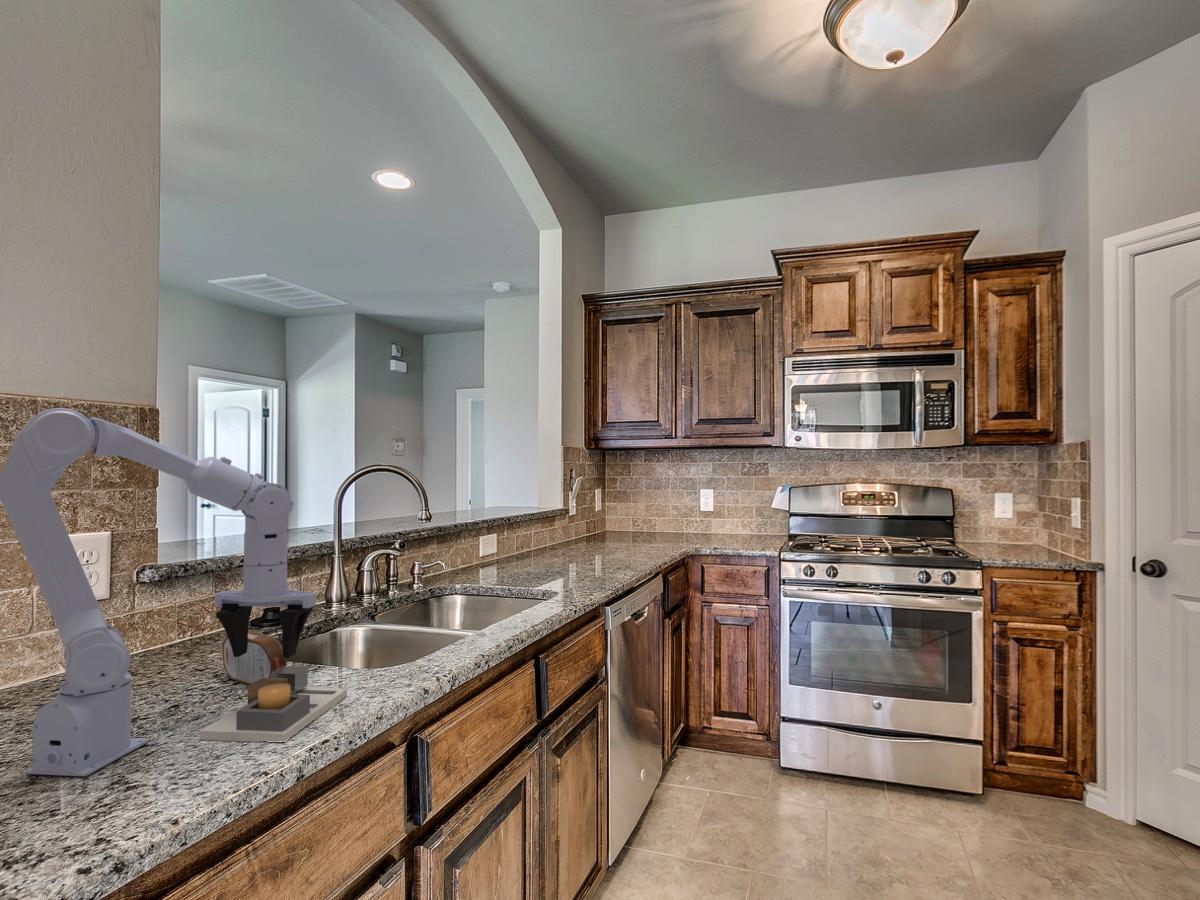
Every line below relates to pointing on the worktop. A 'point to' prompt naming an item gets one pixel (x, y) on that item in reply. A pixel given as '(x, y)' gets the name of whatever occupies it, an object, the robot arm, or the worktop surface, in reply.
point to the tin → (253, 658)
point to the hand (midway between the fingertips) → (264, 655)
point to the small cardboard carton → (261, 683)
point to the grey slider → (292, 676)
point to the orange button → (274, 696)
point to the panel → (274, 717)
